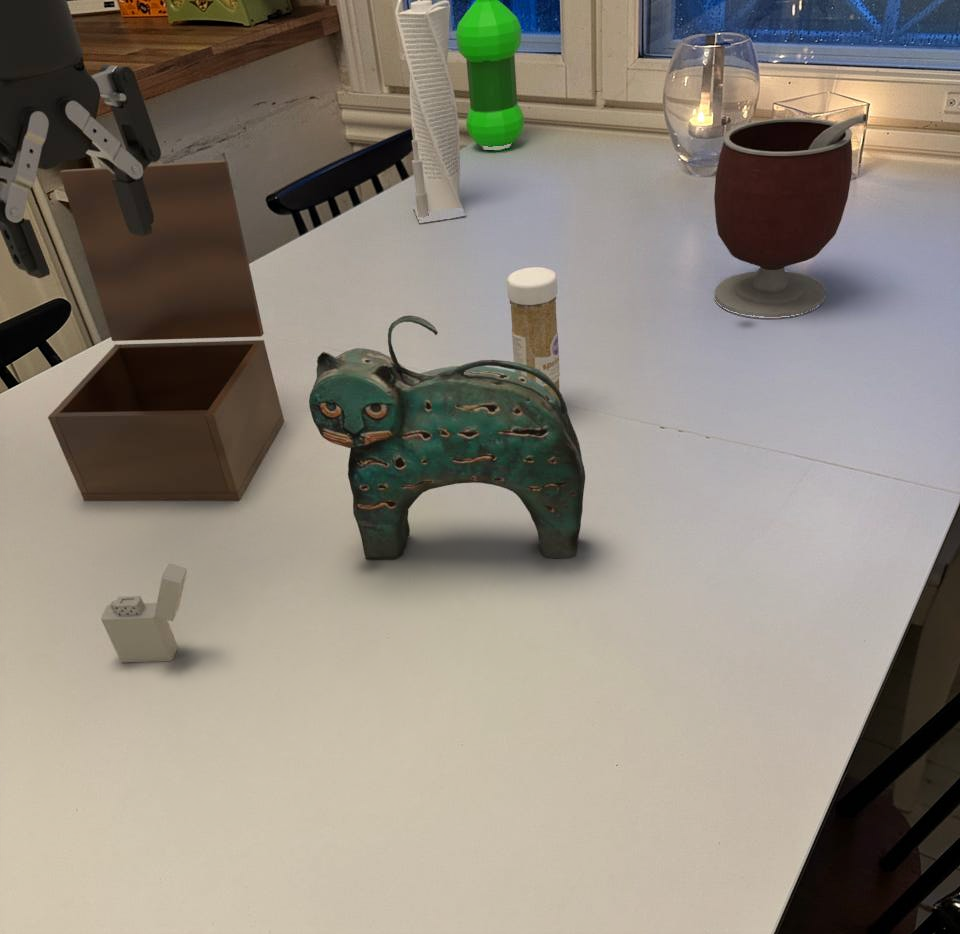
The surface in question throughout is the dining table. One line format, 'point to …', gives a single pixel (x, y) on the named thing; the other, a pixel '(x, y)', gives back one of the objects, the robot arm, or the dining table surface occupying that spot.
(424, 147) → the skyscraper
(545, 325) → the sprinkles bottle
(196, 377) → the chest
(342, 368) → the ceramic cat
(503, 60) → the plastic bottle
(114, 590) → the dining table surface
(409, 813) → the dining table surface
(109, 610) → the lighter
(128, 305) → the lid
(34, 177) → the robot arm
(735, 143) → the mate gourd
